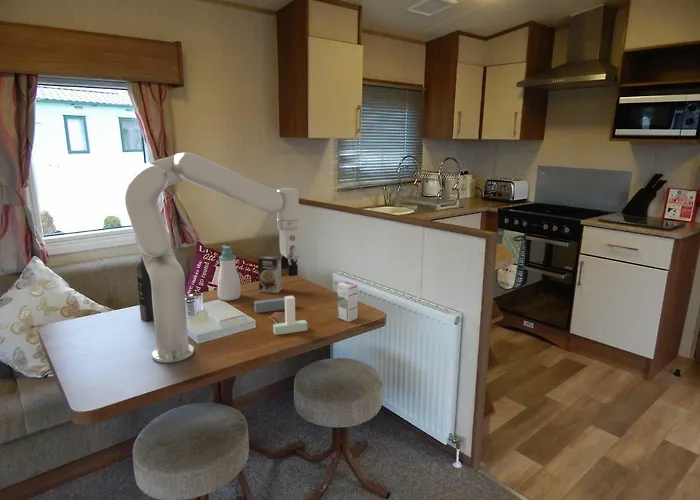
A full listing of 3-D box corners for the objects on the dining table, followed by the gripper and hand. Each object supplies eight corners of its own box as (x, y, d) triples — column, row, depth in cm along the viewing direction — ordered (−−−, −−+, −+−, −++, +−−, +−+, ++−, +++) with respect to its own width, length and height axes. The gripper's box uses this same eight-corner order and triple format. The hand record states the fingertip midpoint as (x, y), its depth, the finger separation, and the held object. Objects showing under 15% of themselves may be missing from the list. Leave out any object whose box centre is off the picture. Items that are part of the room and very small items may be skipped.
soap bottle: (234, 292, 207) (231, 243, 202) (245, 297, 200) (242, 247, 195) (214, 297, 201) (211, 246, 195) (224, 302, 194) (221, 250, 188)
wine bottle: (147, 322, 172) (140, 244, 165) (139, 318, 175) (132, 242, 168) (161, 317, 176) (154, 242, 169) (153, 314, 179) (146, 240, 173)
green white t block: (304, 327, 169) (304, 294, 166) (307, 330, 166) (307, 296, 163) (273, 332, 164) (272, 298, 161) (275, 335, 162) (274, 300, 159)
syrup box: (357, 318, 178) (358, 283, 174) (347, 322, 173) (348, 286, 170) (347, 314, 181) (347, 280, 178) (337, 318, 177) (337, 283, 174)
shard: (279, 328, 169) (279, 323, 168) (261, 325, 171) (260, 321, 170) (291, 317, 179) (291, 313, 178) (273, 315, 181) (273, 311, 181)
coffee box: (258, 292, 208) (257, 258, 204) (263, 288, 214) (262, 254, 210) (277, 293, 206) (276, 259, 203) (282, 289, 213) (281, 255, 209)
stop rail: (294, 307, 188) (294, 298, 187) (255, 312, 182) (255, 303, 181) (292, 305, 191) (292, 296, 190) (254, 310, 185) (254, 301, 184)
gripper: (306, 227, 150) (306, 277, 154) (291, 219, 165) (292, 265, 169) (283, 229, 147) (285, 279, 151) (271, 220, 163) (272, 267, 166)
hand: (289, 271), depth 160 cm, fingers open, 9 cm apart
